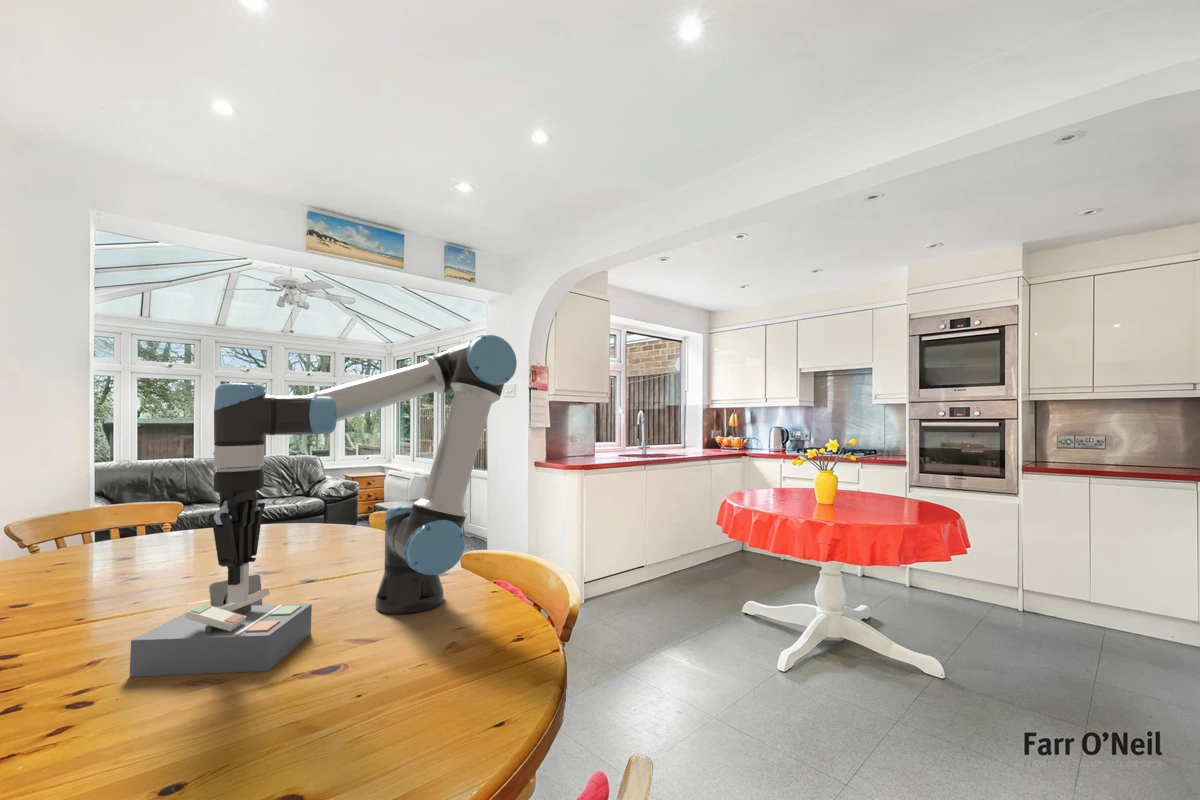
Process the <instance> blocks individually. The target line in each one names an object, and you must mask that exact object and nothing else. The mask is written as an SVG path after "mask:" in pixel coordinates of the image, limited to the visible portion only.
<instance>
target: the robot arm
mask: <svg viewBox="0 0 1200 800" xmlns="http://www.w3.org/2000/svg"><path fill="white" fill-rule="evenodd" d="M517 361H518V360H517V356H516V353H515V351H514V349H513V348H512V346H511V344H510V343H509V341H507V340H506V339H504V338H502V337H501V336H498V335H494V334H485V335H478V336H475V337H473V339H469V340H466V341H463V342H460V343H458V344H457V345H455V346H452V347H451V348H449V349H447V350H444V351H441V352H439V353H436V354H434V355H429V356H427V357H426V359H425V361H424V362H423V361H422V362H420V363H415V364H413V365H409V366H405V367H402V368H398V369H395V370H390V371H388V372H384V373H381V374H376V375H372V376H370V377H366V378H365V377H364V378H362V379H358V380H354V381H351V382H348V383H344V384H341V385H337V386H334V387H329V388H326V389H323V390H319V391H316V392H312V393H311V392H310V393H308V394H304V395H275V394H274V395H270V394H267V393H266V391H265V386H264V385H262V384H259V383H223V384H220V385H218V386H217V387H216V388H215V390H214V391H215V392H214V405H213V406H214V407H213V447H214V448H213V449H214V451H213V453H212V455H213V457H214V458H213V468H215V469H217V471H215V472H214V473H213V484H212V485H213V486H212V487H213V492H214V493H217V494H220V495H221V496H220V501H219V503H218V507H219V509H218V510H217V512H213V513H210V514H209V516H208V519H209V522H210V524H211V526H212V529H213V536H214V542H215V547H216V548H215V549H216V550H215V551H216V557H217V561H218V566H220V567H222V568H224V567H226V568H227V580H228V603H238V602H245V601H247V600H248V599H249V576H250V572H249V571H250V570H249V569H250V565H249V564H250V563H254V562H256V559H257V557H256V556H257V553H258V547H259V539H260V534H261V526H262V517H263V513H264V510H265V508H266V504H265V502H263V501H262V502H259V501H258V494H257V491H260V490H262V489H263V488H264V487H265V471H264V470H263V469H262V468H261V467H263V466H264V465H265V436H281V435H282V436H290V435H291V436H296V435H315V436H317V435H318V436H319V435H324V434H331V433H334V431H335V430H336V427H337V423H338V422H341V421H344V420H346V419H350V418H353V417H357V416H360V415H363V414H366V413H369V412H373V411H376V410H379V409H382V408H385V407H388V406H393V405H395V404H398V403H403V402H405V401H408V400H411V399H414V398H417V397H421V396H424V395H427V394H431V393H435V392H436V393H437V394H440V395H441V394H442V395H443V394H445V393H447V392H450V391H451V392H452V391H453V393H454V395H453V398H452V402H451V405H450V408H449V412H448V414H447V418H446V421H445V424H444V428H443V431H442V434H441V438H440V440H439V444H438V447H437V450H436V453H435V458H434V460H433V463H432V466H431V470H430V472H429V476H428V479H427V482H426V485H425V489H424V492H423V494H422V495H423V496H422V497H421V498H419V499H418V500H416V501H413V504H412V505H404V506H394V507H390V508H387V510H386V512H385V518H384V571H383V575H382V577H381V581H380V584H379V586H378V589H377V590H378V591H377V593H376V595H375V609H376V610H377V611H378V612H381V613H384V614H392V615H395V614H396V615H402V614H403V615H405V614H406V613H407V614H413V613H412V612H415V613H420V612H424V610H425V611H429V610H431V609H433V608H434V609H435V608H436V607H438V606H440V605H441V604H443V602H444V597H445V596H444V588H443V584H442V582H441V579H440V575H442V574H444V573H446V572H448V571H450V570H451V569H453V568H454V567H455V566H456V565H457V564H458V563H459V561H460V560H461V559H462V557H463V554H464V552H465V547H466V537H465V535H464V532H463V528H464V524H465V520H466V517H467V514H466V512H465V510H464V508H463V502H464V498H465V495H466V491H467V489H468V485H469V482H470V478H471V475H472V472H473V469H474V468H473V467H474V464H475V461H476V458H477V454H478V451H479V447H480V445H481V440H482V439H483V438H482V437H483V433H484V430H485V427H486V424H487V423H486V422H487V421H488V417H489V413H490V410H491V406H492V405H493V404H494V403H496V402H497V401H500V399H501V396H502V392H503V389H504V386H505V384H506V383H508V382H509V381H510V380H512V378H513V377H514V375H515V373H516V369H517V364H518V362H517ZM439 604H440V605H439ZM419 611H420V612H419ZM404 613H405V614H404Z"/></svg>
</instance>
